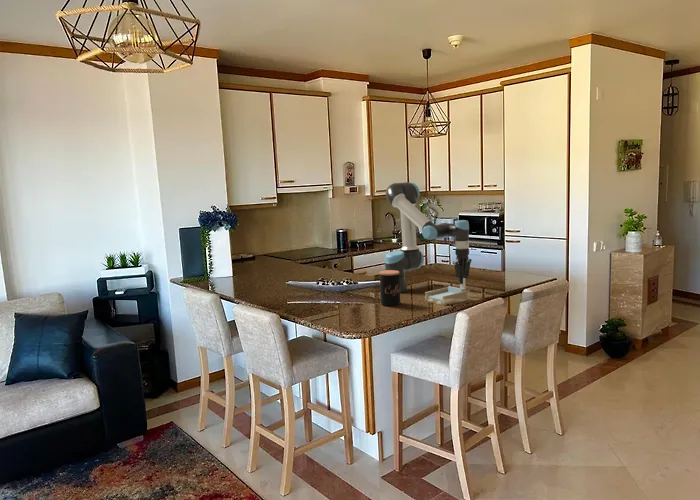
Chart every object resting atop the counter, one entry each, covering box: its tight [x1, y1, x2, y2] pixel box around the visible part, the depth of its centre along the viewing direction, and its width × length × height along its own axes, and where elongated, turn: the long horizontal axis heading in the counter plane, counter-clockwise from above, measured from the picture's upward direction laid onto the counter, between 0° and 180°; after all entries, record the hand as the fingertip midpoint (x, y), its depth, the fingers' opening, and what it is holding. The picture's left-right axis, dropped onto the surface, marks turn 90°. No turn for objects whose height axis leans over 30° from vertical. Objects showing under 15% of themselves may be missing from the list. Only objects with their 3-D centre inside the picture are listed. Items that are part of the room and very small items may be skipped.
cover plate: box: [428, 285, 464, 301], centre depth 295 cm, size 12×17×4 cm
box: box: [424, 286, 468, 306], centre depth 295 cm, size 14×18×5 cm
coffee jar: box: [379, 270, 401, 307], centre depth 291 cm, size 11×11×18 cm
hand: (462, 289), depth 302 cm, fingers closed
